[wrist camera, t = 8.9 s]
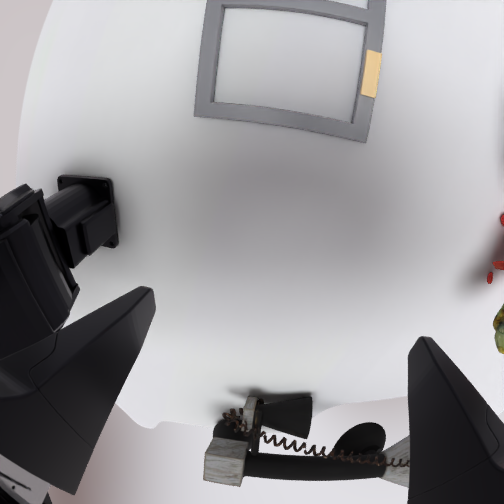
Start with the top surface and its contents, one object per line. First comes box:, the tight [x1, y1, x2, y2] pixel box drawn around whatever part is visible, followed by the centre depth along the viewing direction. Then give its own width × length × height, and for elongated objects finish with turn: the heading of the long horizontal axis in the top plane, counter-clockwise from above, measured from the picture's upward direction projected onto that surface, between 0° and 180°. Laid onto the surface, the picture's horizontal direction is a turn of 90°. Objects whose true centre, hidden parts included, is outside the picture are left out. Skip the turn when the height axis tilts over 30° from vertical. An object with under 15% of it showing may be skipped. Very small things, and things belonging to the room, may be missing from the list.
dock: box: [194, 0, 386, 143], centre depth 12 cm, size 11×17×1 cm, turn 173°
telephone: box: [203, 396, 410, 488], centre depth 30 cm, size 15×13×30 cm
